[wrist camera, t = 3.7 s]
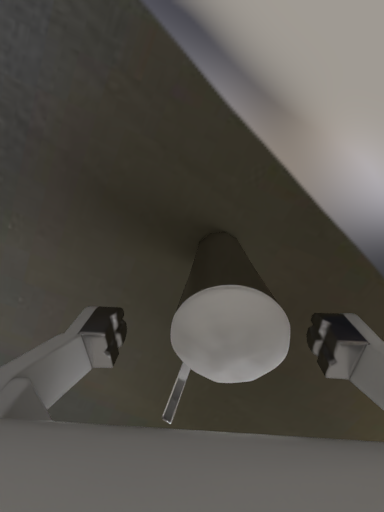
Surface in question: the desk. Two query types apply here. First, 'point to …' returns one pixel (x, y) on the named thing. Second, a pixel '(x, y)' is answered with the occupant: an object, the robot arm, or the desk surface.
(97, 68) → the desk surface
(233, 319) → the milkshake
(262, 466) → the robot arm
